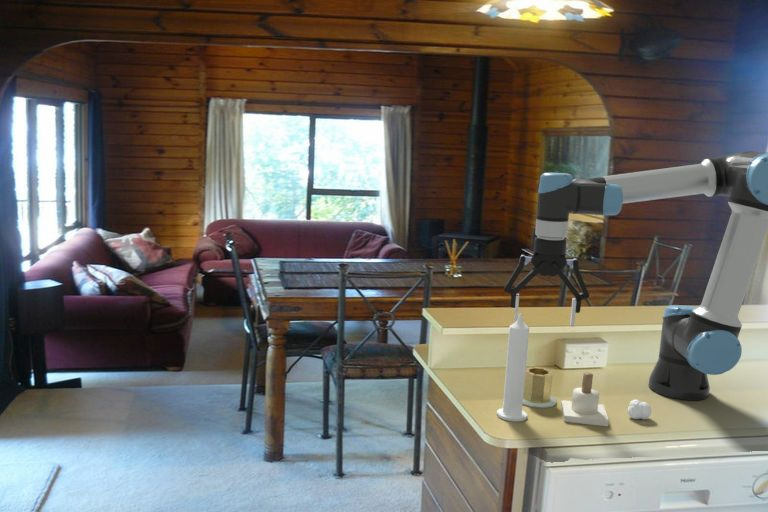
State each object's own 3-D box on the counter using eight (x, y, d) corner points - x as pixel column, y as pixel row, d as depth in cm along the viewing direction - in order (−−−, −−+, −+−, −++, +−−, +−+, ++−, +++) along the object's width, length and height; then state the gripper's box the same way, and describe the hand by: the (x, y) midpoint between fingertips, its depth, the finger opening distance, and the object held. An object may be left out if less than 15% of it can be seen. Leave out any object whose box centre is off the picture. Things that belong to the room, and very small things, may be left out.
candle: (520, 424, 170) (529, 318, 166) (491, 416, 174) (500, 313, 169) (531, 415, 176) (540, 312, 171) (503, 407, 180) (512, 307, 175)
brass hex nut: (549, 395, 188) (551, 368, 187) (550, 404, 182) (553, 377, 180) (522, 392, 189) (525, 365, 188) (523, 401, 183) (525, 374, 181)
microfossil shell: (630, 401, 175) (654, 406, 174) (627, 394, 180) (650, 398, 179) (627, 419, 176) (651, 424, 175) (623, 412, 181) (647, 416, 180)
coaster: (555, 395, 190) (555, 393, 190) (557, 410, 180) (557, 407, 180) (515, 391, 191) (515, 389, 191) (515, 405, 181) (516, 403, 181)
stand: (602, 410, 181) (607, 369, 179) (608, 426, 171) (612, 383, 170) (561, 405, 183) (565, 365, 181) (563, 421, 173) (568, 378, 171)
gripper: (602, 238, 180) (594, 323, 184) (498, 231, 184) (492, 314, 188) (606, 243, 173) (597, 331, 176) (498, 236, 176) (492, 322, 180)
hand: (543, 323), depth 182 cm, fingers open, 13 cm apart
